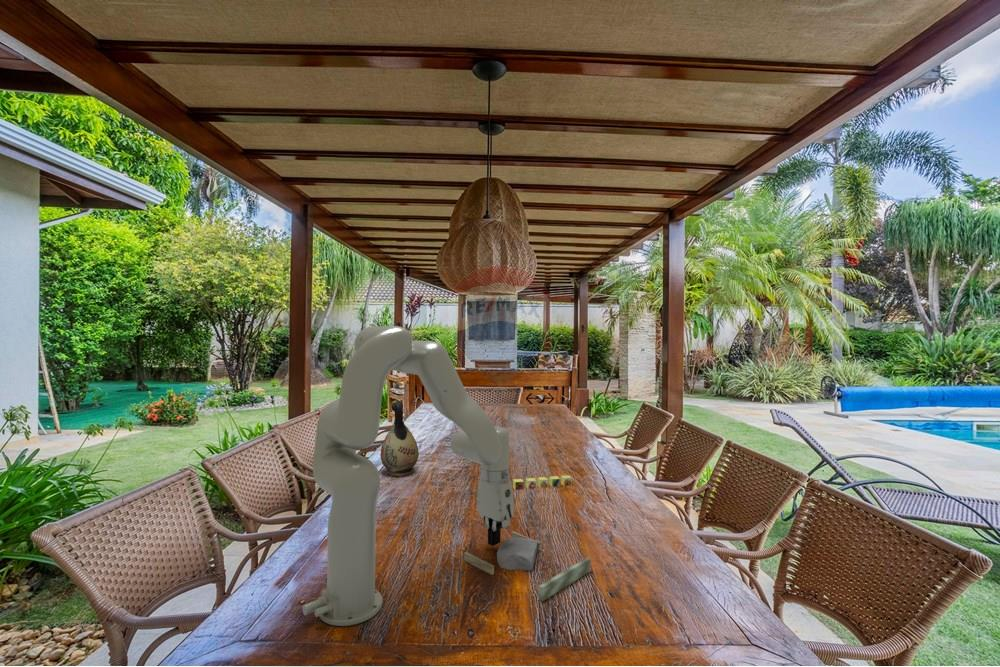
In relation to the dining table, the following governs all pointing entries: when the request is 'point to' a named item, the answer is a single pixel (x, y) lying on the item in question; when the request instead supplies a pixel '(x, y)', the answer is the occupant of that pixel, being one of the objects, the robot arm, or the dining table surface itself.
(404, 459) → the round beige bottle
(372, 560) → the robot arm
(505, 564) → the stone block
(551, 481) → the yellow picture cubes row
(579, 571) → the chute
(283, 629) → the dining table surface
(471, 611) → the dining table surface
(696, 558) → the dining table surface
